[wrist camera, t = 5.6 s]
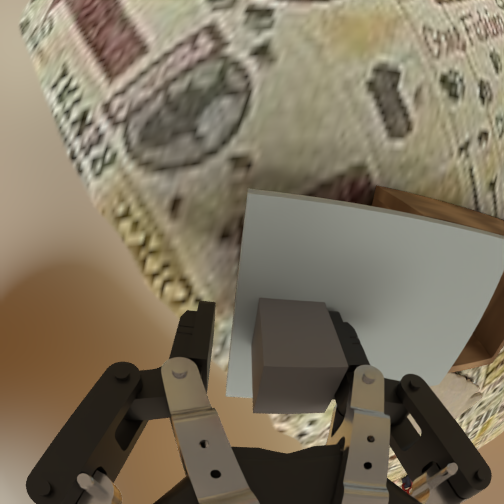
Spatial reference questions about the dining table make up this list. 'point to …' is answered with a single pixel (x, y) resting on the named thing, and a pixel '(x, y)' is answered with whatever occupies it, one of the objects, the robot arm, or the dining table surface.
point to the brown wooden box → (500, 306)
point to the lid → (350, 296)
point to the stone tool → (454, 395)
